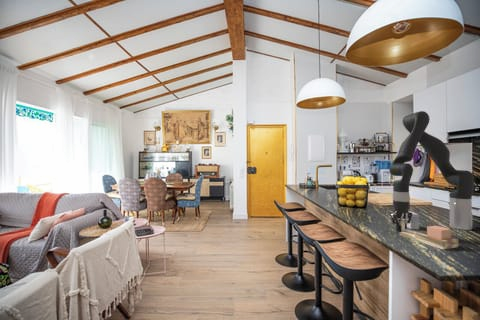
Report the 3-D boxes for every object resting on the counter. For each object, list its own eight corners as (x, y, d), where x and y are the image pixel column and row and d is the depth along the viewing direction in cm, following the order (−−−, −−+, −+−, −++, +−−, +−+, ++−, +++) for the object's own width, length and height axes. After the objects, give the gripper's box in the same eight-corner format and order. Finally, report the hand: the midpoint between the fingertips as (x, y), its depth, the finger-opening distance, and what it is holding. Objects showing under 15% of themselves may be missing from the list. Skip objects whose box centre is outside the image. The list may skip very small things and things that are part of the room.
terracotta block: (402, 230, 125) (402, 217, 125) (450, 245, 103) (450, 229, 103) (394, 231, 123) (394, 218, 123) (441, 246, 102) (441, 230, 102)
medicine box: (419, 229, 127) (419, 214, 127) (410, 229, 128) (410, 214, 128) (411, 225, 135) (411, 211, 135) (403, 225, 136) (403, 211, 136)
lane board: (413, 233, 121) (413, 226, 121) (458, 246, 102) (458, 239, 102) (399, 235, 119) (399, 228, 119) (442, 249, 99) (442, 241, 99)
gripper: (404, 198, 128) (404, 228, 128) (384, 199, 124) (385, 230, 124) (417, 200, 121) (418, 232, 121) (397, 201, 117) (398, 235, 117)
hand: (401, 231), depth 123 cm, fingers closed on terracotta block, 3 cm apart
